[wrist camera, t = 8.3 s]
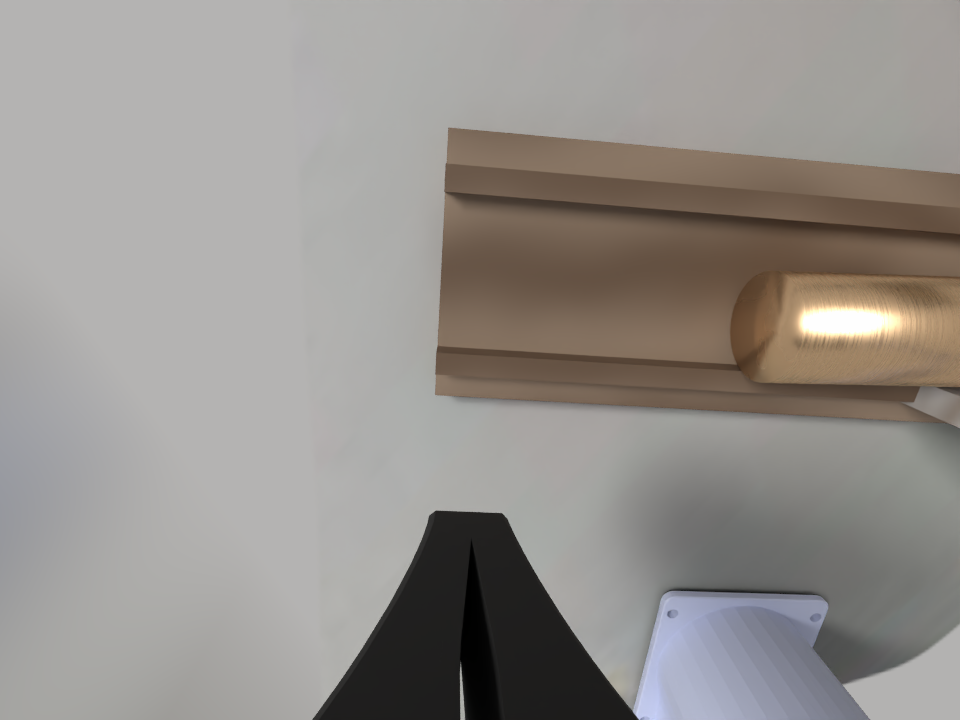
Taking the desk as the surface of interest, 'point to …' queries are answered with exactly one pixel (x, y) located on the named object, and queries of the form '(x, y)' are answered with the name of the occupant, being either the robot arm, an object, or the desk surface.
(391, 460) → the desk surface
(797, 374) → the thermos bottle
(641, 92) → the desk surface
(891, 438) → the desk surface
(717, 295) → the board
